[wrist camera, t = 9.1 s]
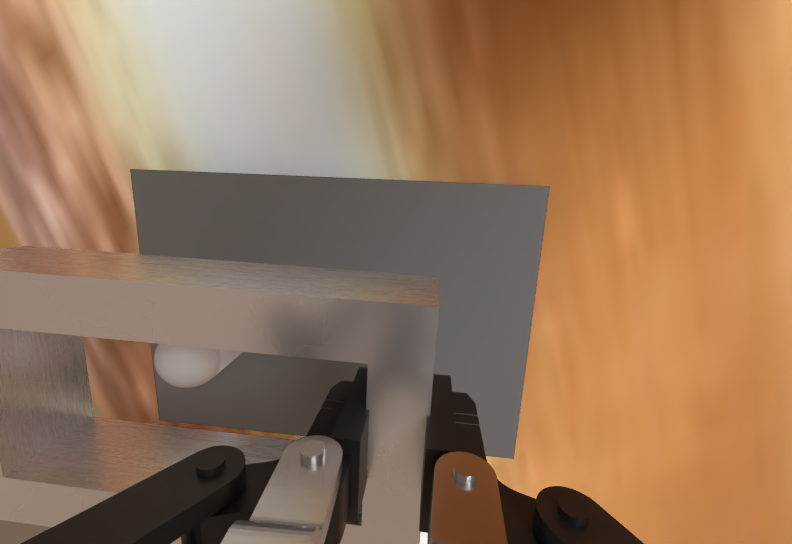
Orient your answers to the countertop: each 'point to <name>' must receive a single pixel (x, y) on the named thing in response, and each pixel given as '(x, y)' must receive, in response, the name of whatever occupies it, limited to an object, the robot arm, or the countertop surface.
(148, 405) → the countertop surface
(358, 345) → the steel link
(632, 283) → the countertop surface
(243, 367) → the board
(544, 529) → the robot arm
